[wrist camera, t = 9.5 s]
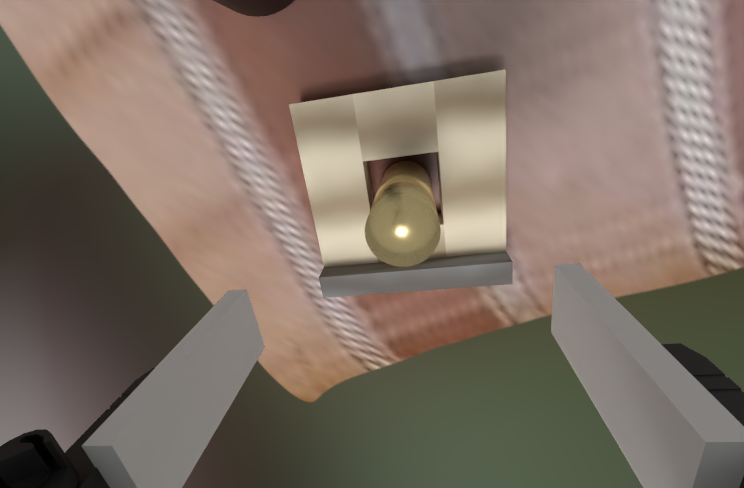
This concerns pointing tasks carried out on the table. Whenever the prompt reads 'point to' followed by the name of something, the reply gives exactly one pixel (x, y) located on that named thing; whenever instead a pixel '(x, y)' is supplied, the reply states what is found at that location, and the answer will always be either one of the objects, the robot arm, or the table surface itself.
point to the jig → (403, 138)
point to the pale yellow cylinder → (403, 216)
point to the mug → (255, 6)
